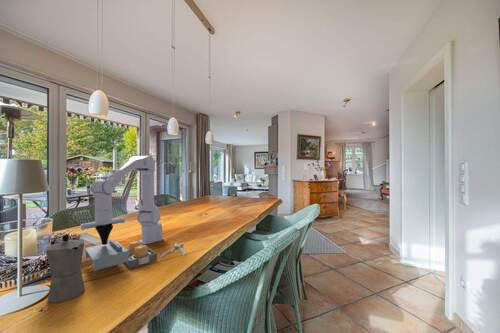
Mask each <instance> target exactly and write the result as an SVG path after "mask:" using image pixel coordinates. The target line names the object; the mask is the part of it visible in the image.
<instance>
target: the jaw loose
mask: <svg viewBox="0 0 500 333" xmlns="http://www.w3.org/2000/svg"><path fill="white" fill-rule="evenodd" d="M140 245H142V243H141V241H139V240H134V241H130V242H129V243H128V249H129V253H135V247H137V246H140Z"/></svg>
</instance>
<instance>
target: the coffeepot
mask: <svg viewBox="0 0 500 333" xmlns="http://www.w3.org/2000/svg"><path fill="white" fill-rule="evenodd" d="M69 238H70V234H63V235H62V239H56V238H55V239H53V240H52V241H51V243H50V244H49V245H48V246H46V250H45V252H46V255H47V260H48V265H49V268H50V269H49V270H50V272H51V278H50V279H51V280H50V284H49V290H48V296H47V302H49V303H52V304H57V303H63V302H68V301H70V300H72V299H75V298H77V297H78V296H80V295H81V294H83V293H85V291H86V288H85V286H86V285H85V282H84V278H83V274H82V273H83V272H82V269H81V265H82V260H83V255H84V249H85V248H84V247H85V240H84V239H69Z"/></svg>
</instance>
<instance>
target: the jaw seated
mask: <svg viewBox="0 0 500 333" xmlns="http://www.w3.org/2000/svg"><path fill="white" fill-rule="evenodd" d="M147 247H148V245H147V244H145V245H144V244H141V245H140V246H137V247H135V258H139V257H143V256H146V255H147Z"/></svg>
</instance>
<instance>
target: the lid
mask: <svg viewBox="0 0 500 333" xmlns="http://www.w3.org/2000/svg"><path fill="white" fill-rule="evenodd" d="M108 241H109V242H107V244H106V245H102V244H98V245H94V246H88V247H85V248H84V249H85V252H84V254H85V259H88V258H89V259H91V260H92V262H93V263H92V264H93V265H92V266H93V267H92V268H93V272H96V271H99V270H104V269H107V268H109V267H114V266H117V265H120V264H125V263H124V262H127V261H129V251H128V250H127V249H128V248H126V247H125V246H124V245H122V244H121V243H120V242H119V241H118V240H115V239H113V238H112V239H108Z"/></svg>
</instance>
